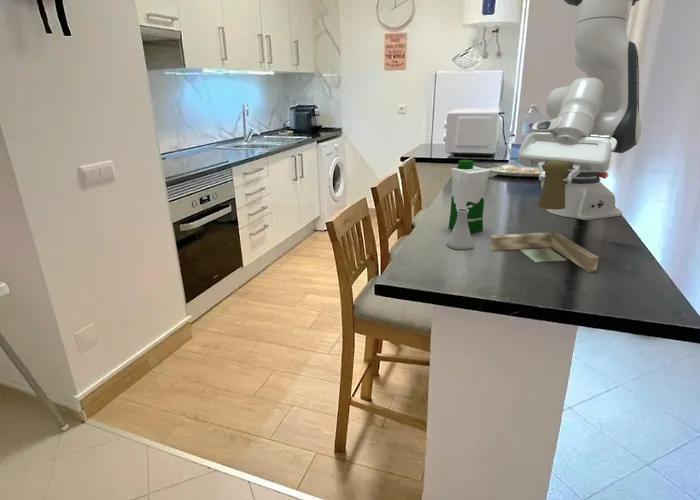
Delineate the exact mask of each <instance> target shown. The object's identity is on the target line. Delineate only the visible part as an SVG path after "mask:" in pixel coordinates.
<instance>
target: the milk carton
mask: <svg viewBox="0 0 700 500" xmlns="http://www.w3.org/2000/svg"><path fill="white" fill-rule="evenodd" d="M450 170H451V183H452V184H451V187H452V188H451V202H450V213H449V220H448V227H447V228H448V229H449V230H451V231H452V230H453V228H454V226H455V223H456V220H457V215H458V212H457V209H459V208H466V209H468V210H469V213H468V214H467V220H468V226H469V230H470V234H471V235H472V234H475V233H480V232H483V231H484V230H483V228H484V226H483V225H484V223H483V222H484V221H483V219H484V217H483V215H484V207H485V206H484V204H485V196H486V186H487V182H488V179H489V176H490V173H491V170H490V169H485V168H483V167H479V166H474V160H473V159H459V160H458V166H457V167H452V168H450Z"/></svg>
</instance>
